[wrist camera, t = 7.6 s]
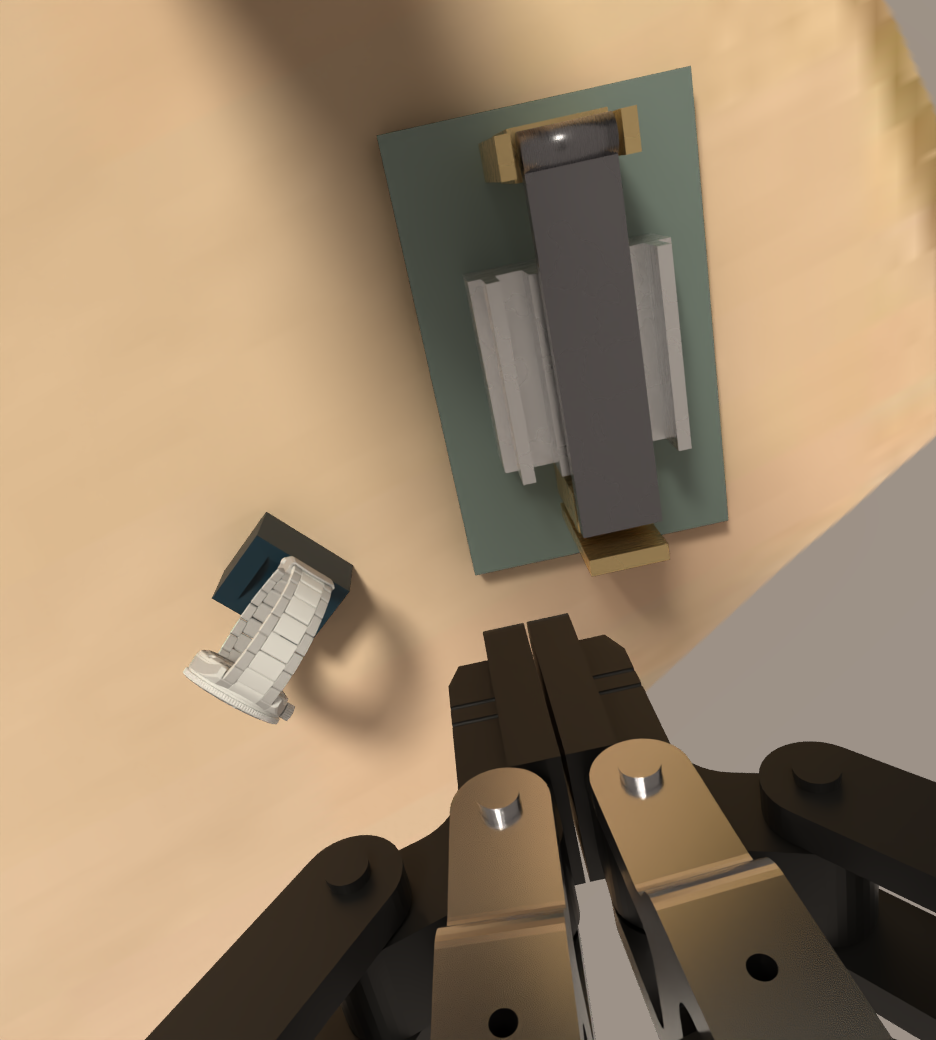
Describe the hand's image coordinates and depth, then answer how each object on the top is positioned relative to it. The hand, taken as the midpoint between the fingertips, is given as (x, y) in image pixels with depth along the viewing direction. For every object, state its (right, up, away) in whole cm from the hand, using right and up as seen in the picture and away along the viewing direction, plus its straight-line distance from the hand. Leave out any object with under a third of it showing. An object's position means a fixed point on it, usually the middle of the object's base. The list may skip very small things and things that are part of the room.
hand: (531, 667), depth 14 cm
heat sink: (+4, +11, +26) cm, 28 cm away
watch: (-11, 0, +31) cm, 33 cm away
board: (+4, +11, +27) cm, 30 cm away
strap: (+4, +10, +20) cm, 23 cm away
